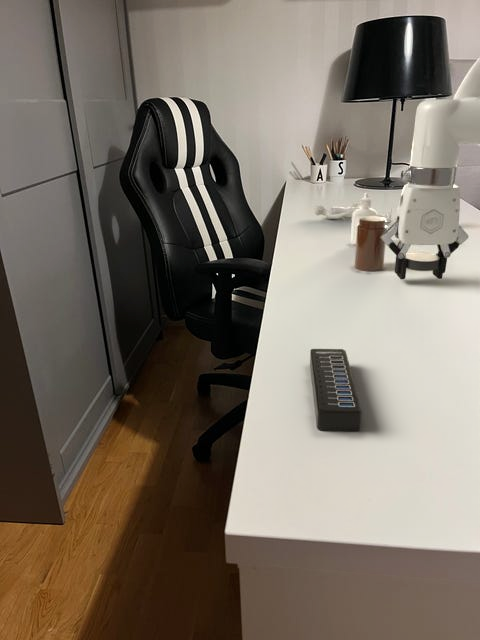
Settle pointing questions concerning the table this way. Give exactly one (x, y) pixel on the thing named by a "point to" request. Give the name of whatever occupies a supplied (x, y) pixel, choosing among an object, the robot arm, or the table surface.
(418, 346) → the table surface
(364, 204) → the eye dropper bottle
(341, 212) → the male figure
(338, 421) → the multiport hub
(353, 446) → the table surface
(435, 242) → the robot arm
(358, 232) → the jar
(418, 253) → the lid
